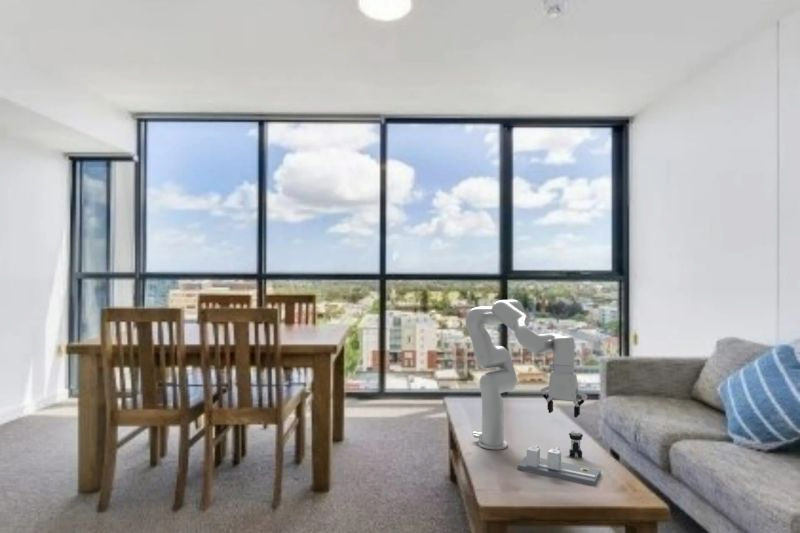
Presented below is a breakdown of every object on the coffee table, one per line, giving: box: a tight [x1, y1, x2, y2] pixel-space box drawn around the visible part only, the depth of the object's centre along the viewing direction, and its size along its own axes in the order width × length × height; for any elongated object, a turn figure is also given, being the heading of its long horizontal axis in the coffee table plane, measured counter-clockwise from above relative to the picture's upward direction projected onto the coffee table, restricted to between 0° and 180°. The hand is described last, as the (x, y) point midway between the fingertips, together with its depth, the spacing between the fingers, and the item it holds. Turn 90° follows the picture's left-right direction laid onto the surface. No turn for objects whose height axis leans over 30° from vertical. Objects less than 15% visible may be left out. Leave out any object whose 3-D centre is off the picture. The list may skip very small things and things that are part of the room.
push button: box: [564, 430, 584, 459], centre depth 211 cm, size 7×5×10 cm
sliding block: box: [547, 446, 562, 470], centre depth 195 cm, size 4×7×6 cm, turn 149°
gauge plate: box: [517, 444, 602, 486], centre depth 195 cm, size 28×12×8 cm, turn 59°
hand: (563, 414), depth 195 cm, fingers open, 9 cm apart
